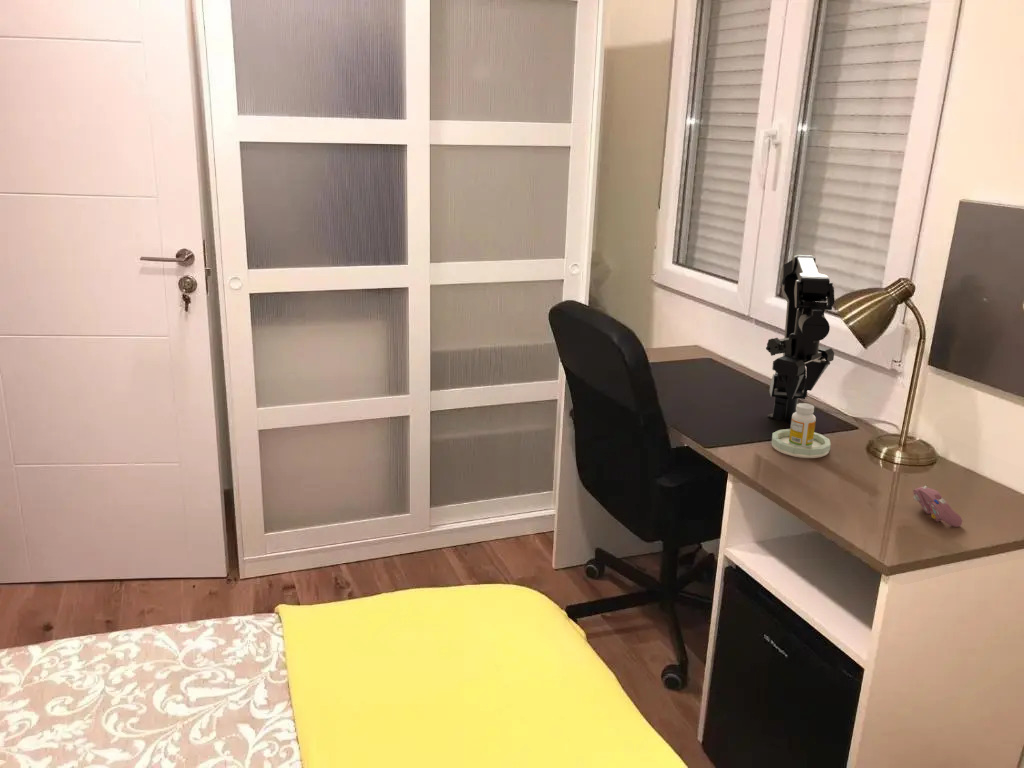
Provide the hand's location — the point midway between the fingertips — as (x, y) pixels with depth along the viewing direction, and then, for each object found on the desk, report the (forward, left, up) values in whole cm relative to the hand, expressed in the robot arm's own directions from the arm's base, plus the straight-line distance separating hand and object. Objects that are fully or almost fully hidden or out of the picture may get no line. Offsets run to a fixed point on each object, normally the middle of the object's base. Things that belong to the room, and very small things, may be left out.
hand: (799, 394), depth 194 cm
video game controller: (+14, +38, -13) cm, 42 cm away
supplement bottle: (0, +2, -12) cm, 12 cm away
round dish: (0, +2, -13) cm, 13 cm away
